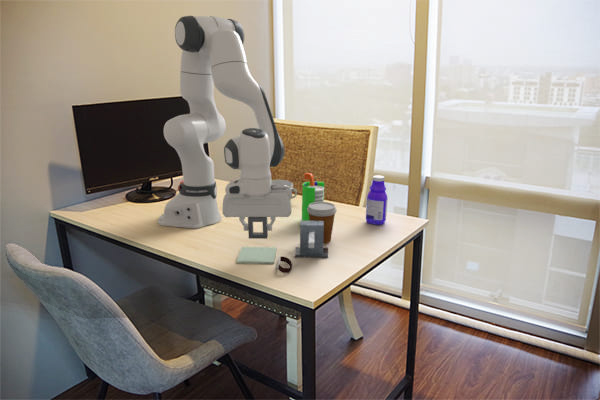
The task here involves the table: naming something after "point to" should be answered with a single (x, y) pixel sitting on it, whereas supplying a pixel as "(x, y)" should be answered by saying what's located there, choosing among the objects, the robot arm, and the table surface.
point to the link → (257, 234)
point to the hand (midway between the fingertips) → (258, 230)
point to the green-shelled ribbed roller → (311, 194)
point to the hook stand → (311, 240)
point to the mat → (257, 255)
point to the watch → (282, 269)
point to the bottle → (377, 201)
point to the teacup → (286, 183)
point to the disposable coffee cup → (323, 217)
